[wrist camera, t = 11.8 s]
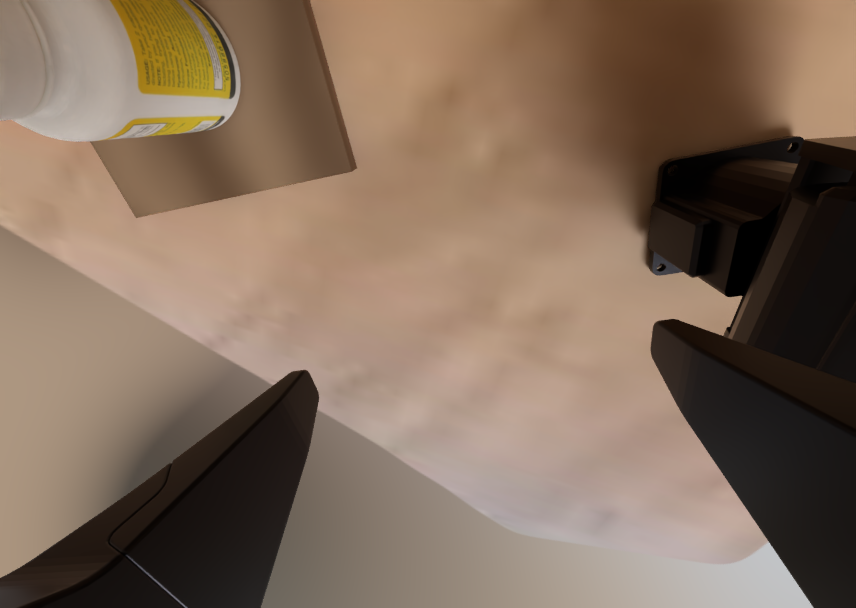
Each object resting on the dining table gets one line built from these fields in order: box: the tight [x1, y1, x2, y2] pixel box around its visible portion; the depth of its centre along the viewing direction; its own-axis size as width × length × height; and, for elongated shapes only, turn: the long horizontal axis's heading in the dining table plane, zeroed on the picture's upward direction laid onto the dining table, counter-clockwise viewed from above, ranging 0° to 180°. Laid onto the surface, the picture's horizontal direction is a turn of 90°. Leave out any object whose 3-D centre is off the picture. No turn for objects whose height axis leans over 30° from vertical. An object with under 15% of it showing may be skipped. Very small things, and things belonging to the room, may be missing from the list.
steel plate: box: [90, 0, 357, 218], centre depth 17 cm, size 13×10×1 cm
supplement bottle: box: [0, 0, 241, 142], centre depth 12 cm, size 5×5×10 cm
